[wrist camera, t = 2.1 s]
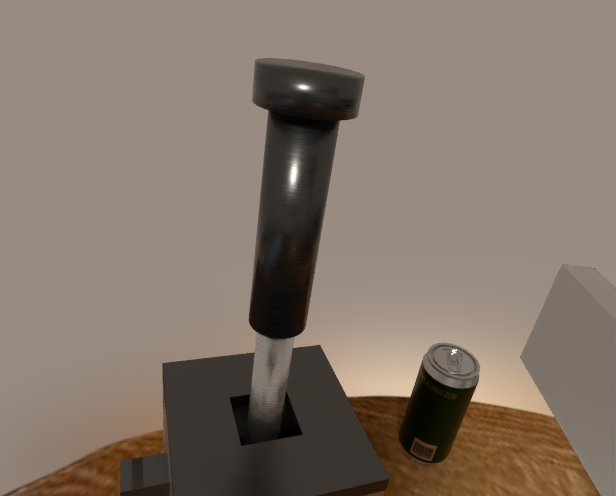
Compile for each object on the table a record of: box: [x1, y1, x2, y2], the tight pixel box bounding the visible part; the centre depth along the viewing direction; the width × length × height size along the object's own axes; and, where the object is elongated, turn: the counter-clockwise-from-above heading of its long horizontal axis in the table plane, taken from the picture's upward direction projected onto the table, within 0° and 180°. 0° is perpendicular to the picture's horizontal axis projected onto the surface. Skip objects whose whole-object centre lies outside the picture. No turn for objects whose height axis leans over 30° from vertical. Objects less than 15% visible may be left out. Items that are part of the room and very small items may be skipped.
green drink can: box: [399, 343, 480, 466], centre depth 47 cm, size 5×5×12 cm
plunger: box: [245, 58, 365, 445], centre depth 25 cm, size 8×8×28 cm
